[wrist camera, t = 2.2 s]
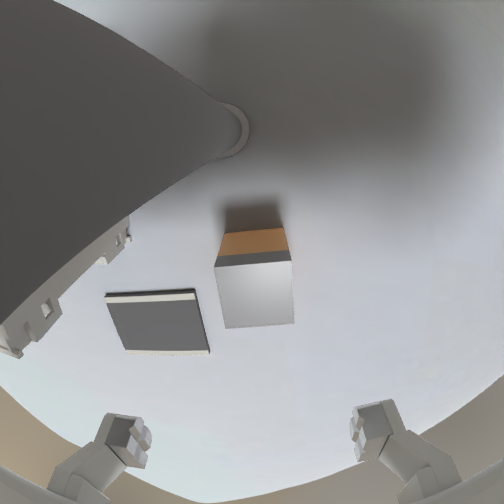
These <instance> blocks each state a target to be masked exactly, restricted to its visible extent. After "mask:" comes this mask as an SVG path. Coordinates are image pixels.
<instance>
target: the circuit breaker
mask: <svg viewBox="0 0 504 504" xmlns="http://www.w3.org/2000/svg"><path fill="white" fill-rule="evenodd" d="M129 226H130V223H129V215H128V216H126V217H125V218H124V219H122V220H121V221H120V222H118V223H117V224H116V225H114V226H113V227H112V228H110V229H109V230H108V231H106V232H105V233H104V234H102V235H101V236H100V237H99V238H97V239H96V240H95V241H93V242H92V243H91V244H90V245H88V246H87V247H86V248H85V249H83V250H82V251H81V252H80V253H78V254H77V255H76V256H75V257H74V258H72V259H71V260H70V261H69V262H68V263H66V264H65V265H64V266H63V267H62V268H61V269H59V270H58V271H57V272H56V273H55V274H54V275H52V276H51V277H50V278H49V279H48V280H47V281H46V282H45V283H43V284H42V285H41V286H40V287H39V288H38V289H37V290H36V291H35V292H34V293H33V294H31V295H30V296H29V297H28V298H27V299H26V300H25V301H24V302H23V303H22V304H21V305H20V306H19V307H18V308H17V309H16V310H15V311H14V312H13V313H12V314H11V315H10V316H9V317H8V318H7V319H6V320H5V321H4V322H3V323H2V324H1V325H0V352H2V353H4V354H7V355H10V356H12V357H15V358H18V359H20V358H21V357H22V356H23V355H24V354H23V352H22V350H23V349H24V348H25V347H26V346H27V345H28V344H29V343H30V342H31V341H34V342H38V341H39V340H40V339H41V338H42V337H43V336H44V335H45V334H46V332H47V331H48V330H49V329H50V328H51V326H52V325H53V324H54V323H55V322H56V320H57V319H58V318H59V317H60V316H61V315H62V311H61V308H60V305H59V302H58V298H59V297H60V296H61V295H62V294H63V293H64V292H65V291H66V290H67V289H68V288H69V287H70V286H71V285H72V284H73V283H74V282H75V281H76V280H77V279H78V278H79V277H80V276H81V275H82V274H83V273H84V272H85V271H86V270H87V269H88V268H89V267H91V266H92V265H93V264H107V265H108V264H109V263H110V262H111V261H112V260H113V259H114V258H115V257H116V256H117V255H118V254H119V253H120V252H121V251H122V250H123V249H124V244H125V243H126V242H131V241H132V239H131V236H127V231H126V228H127V227H129ZM116 242H117V245H116ZM44 314H45V315H47V316H46V317H45V316H44Z"/></svg>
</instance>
